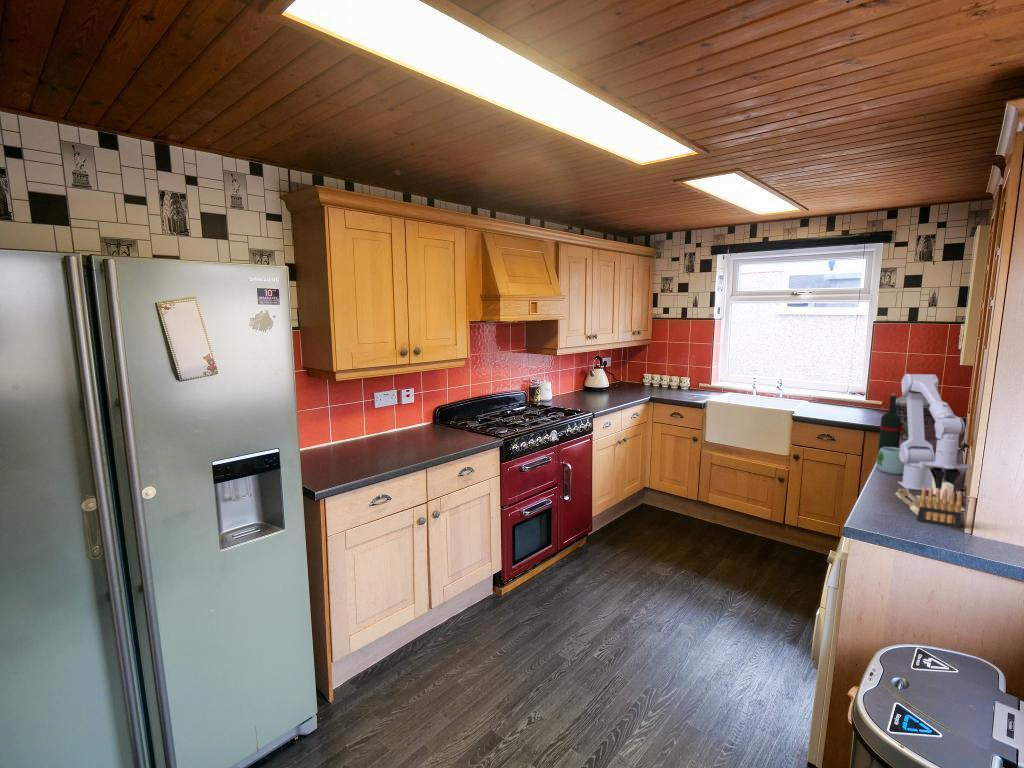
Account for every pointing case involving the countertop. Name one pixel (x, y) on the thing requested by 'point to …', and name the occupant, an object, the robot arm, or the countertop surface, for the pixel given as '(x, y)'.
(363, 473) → the countertop surface
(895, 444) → the wine bottle
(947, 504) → the sage mat
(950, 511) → the ammunition clip
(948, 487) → the cream rectangular block
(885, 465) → the mug
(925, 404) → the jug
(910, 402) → the robot arm
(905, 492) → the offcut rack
